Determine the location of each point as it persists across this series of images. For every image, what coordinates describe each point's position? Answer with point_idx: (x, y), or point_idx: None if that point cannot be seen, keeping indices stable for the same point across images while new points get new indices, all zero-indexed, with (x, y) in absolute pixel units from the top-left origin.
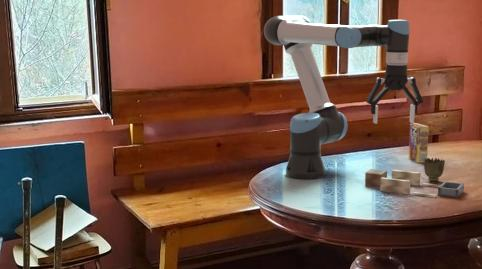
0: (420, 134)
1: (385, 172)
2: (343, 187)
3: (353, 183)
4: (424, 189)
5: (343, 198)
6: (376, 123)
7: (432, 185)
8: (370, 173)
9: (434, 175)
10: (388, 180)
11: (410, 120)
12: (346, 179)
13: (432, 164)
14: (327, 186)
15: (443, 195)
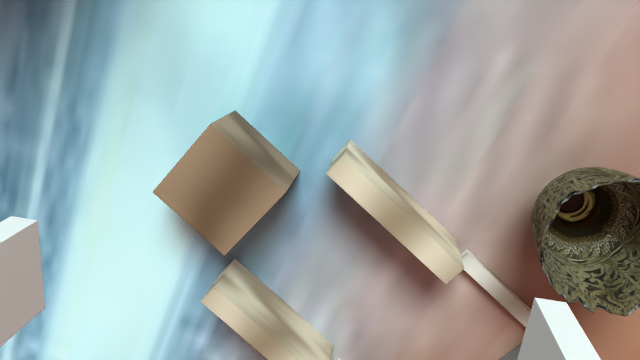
0: None
1: (267, 210)
2: (76, 168)
3: (139, 114)
4: (429, 314)
5: (44, 316)
6: (33, 306)
7: (493, 296)
8: (176, 212)
9: (558, 256)
10: (234, 324)
11: (533, 346)
12: (124, 24)
13: (560, 290)
14: (8, 129)
15: None
